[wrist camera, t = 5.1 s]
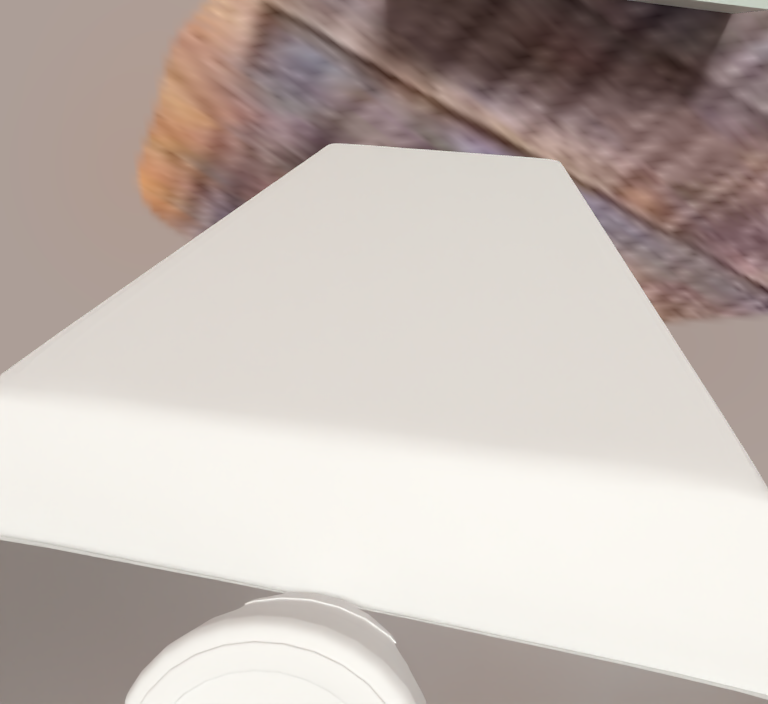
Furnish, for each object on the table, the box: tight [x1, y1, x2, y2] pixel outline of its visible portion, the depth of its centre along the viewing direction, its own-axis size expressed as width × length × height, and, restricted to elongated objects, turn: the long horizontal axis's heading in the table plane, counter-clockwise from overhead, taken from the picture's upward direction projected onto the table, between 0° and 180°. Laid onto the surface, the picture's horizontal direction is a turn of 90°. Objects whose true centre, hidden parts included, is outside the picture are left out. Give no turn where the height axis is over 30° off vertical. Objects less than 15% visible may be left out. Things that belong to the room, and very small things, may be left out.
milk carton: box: [0, 144, 768, 704], centre depth 11 cm, size 7×7×19 cm
